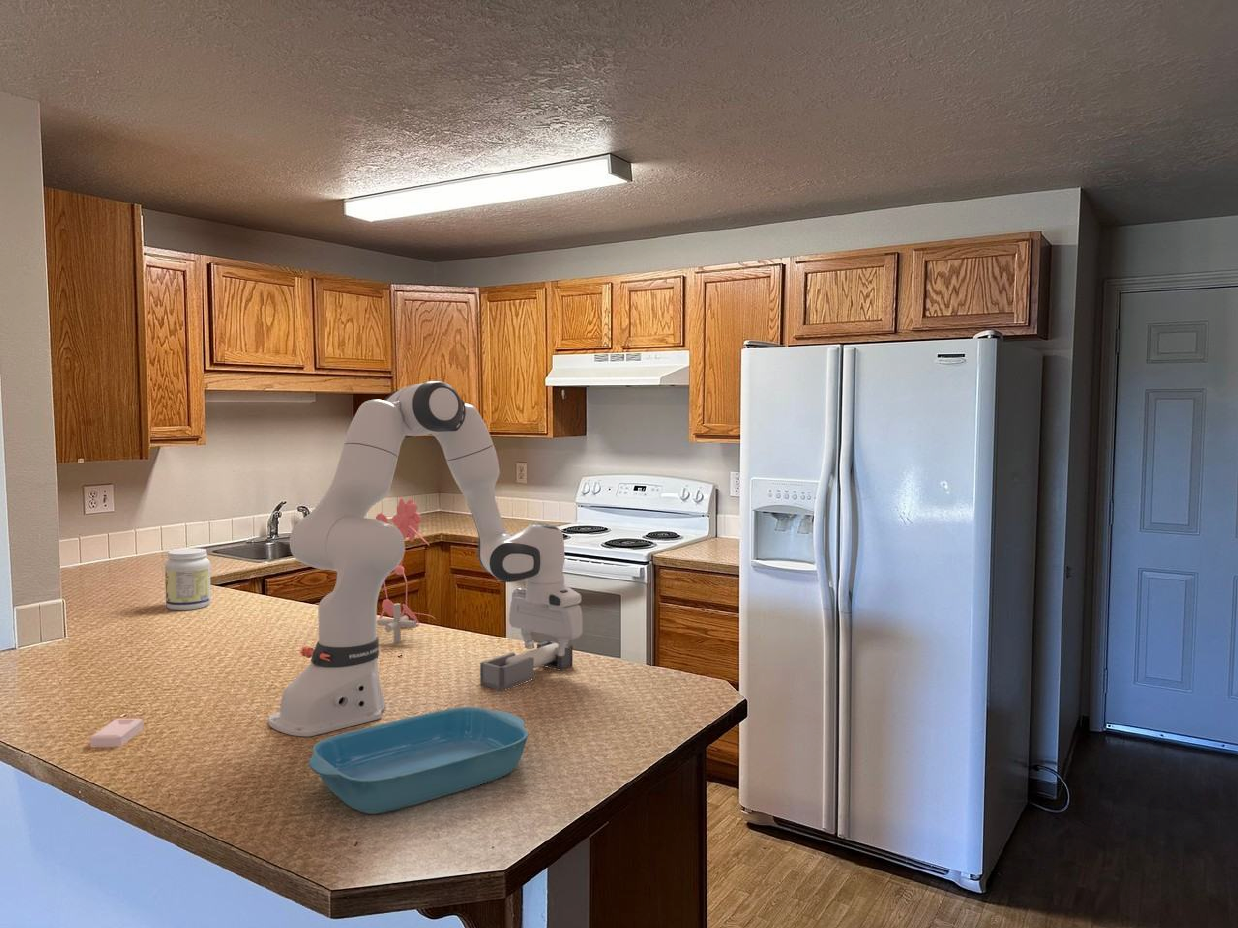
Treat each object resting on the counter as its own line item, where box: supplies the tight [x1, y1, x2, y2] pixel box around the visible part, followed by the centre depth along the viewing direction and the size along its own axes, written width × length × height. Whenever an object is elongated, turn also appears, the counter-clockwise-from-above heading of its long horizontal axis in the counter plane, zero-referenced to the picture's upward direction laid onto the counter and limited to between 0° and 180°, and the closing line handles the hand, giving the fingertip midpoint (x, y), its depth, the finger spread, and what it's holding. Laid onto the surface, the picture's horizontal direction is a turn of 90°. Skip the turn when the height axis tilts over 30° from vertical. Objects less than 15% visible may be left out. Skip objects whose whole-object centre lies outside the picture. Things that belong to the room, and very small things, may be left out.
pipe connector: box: [377, 602, 418, 644], centre depth 225 cm, size 10×10×10 cm
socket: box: [536, 639, 574, 671], centre depth 206 cm, size 4×8×5 cm, turn 53°
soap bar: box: [89, 718, 144, 748], centre depth 160 cm, size 5×9×2 cm, turn 4°
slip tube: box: [505, 643, 559, 669], centre depth 200 cm, size 15×4×4 cm, turn 143°
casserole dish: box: [308, 706, 529, 815], centre depth 144 cm, size 37×22×7 cm, turn 130°
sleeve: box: [479, 652, 535, 692], centre depth 193 cm, size 10×7×5 cm, turn 143°
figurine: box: [375, 497, 437, 631], centre depth 247 cm, size 15×26×35 cm, turn 47°
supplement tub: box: [164, 547, 212, 611], centre depth 262 cm, size 12×12×17 cm
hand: (544, 651), depth 202 cm, fingers open, 8 cm apart
